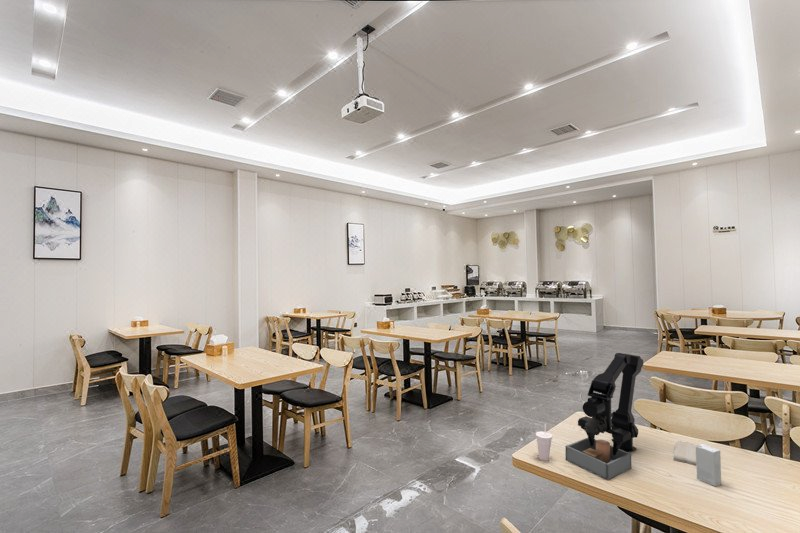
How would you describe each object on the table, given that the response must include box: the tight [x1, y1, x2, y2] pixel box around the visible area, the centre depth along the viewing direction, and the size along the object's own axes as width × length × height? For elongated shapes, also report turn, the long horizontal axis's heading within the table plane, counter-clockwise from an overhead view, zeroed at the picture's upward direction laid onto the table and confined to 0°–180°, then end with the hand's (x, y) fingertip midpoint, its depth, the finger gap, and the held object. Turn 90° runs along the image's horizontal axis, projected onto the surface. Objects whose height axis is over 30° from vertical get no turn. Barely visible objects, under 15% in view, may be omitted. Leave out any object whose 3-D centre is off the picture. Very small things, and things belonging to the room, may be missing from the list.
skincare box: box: [695, 443, 722, 487], centre depth 144 cm, size 6×4×12 cm
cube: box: [582, 448, 602, 461], centre depth 155 cm, size 5×5×5 cm
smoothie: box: [535, 423, 553, 462], centre depth 161 cm, size 6×6×14 cm
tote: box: [565, 437, 632, 481], centre depth 156 cm, size 15×17×6 cm
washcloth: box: [673, 440, 699, 466], centre depth 162 cm, size 12×18×3 cm, turn 142°
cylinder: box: [596, 439, 611, 463], centre depth 158 cm, size 5×5×7 cm
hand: (603, 450), depth 158 cm, fingers open, 9 cm apart
